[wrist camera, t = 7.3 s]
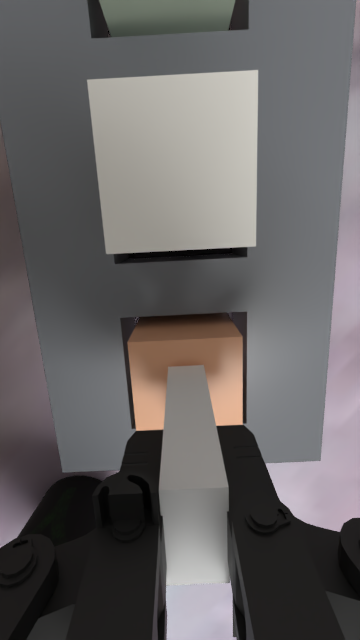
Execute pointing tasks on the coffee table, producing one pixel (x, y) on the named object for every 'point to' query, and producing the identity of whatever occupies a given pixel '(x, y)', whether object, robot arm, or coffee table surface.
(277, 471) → the coffee table surface
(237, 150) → the ivory key
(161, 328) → the peach cube
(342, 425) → the coffee table surface
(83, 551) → the robot arm
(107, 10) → the sage key
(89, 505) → the cup
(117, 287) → the key panel
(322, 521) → the coffee table surface
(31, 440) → the coffee table surface
